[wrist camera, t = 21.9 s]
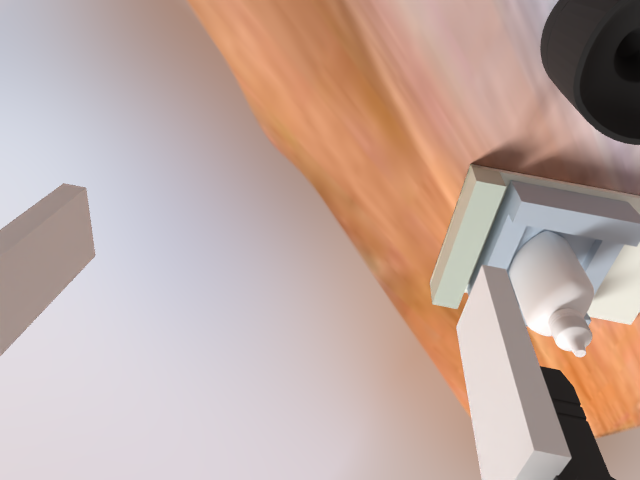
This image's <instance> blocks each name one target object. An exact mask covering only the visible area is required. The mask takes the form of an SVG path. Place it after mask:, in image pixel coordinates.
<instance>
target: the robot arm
mask: <svg viewBox="0 0 640 480" xmlns="http://www.w3.org/2000/svg"><path fill="white" fill-rule="evenodd" d="M94 257H95V250H94V243H93V235H92V227H91V220H90V213H89V205H88V199H87V191H86V188H85V187H80V186H75V185H69V184H64V183H63V184H62V185H61V186H59V187H58V188H57V189H55V190H54V191H53V192H52V193H50V194H48V196H46V197H44V198H43V199H42V200H40V201H39V202H38V203H36V204H35V205H33V206H32V207H31V208H29V209H28V210H27V211H25V212H24V213H23V214H21V215H20V216H18V217H17V218H16V219H14V220H13V221H12V222H10V223H9V224H8V225H6V226H5V227H4V228H2V229H1V230H0V356H1V355H2V354H3V353H4V352H5V351H6V350H7V349H8V348H9V346H10V345H11V344H12V343H13V342H14V341H15V340H16V339H17V338H18V337H19V336H20V335H21V334H22V333H23V332H24V331H25V330H26V328H27V327H28V326H29V325H30V324H31V323H32V322H33V321H34V320H35V319H36V318H37V317H38V316H39V315H40V314H41V313H42V311H43V310H45V308H46V307H47V306H48V305H49V304H50V303H51V302H52V301H53V300H54V299H55V298H56V297H57V296H58V295H59V294H60V293H61V291H62V290H63V289H64V288H65V287H66V286H67V285H68V284H69V283H70V282H71V281H72V280H73V279H74V278H75V277H76V276H77V274H78V273H80V271H81V270H82V269H83V268H84V267H85V266H86V265H87V264H88V263H89V262H90V261H91V260H92V259H93V258H94ZM456 328H457V334H458V340H459V346H460V352H461V358H462V364H463V370H464V376H465V382H466V388H467V394H468V400H469V406H470V412H471V418H472V424H473V430H474V436H475V441H476V448H477V453H478V460H479V465H480V472H481V477H482V480H616V479H614V478H612V477H611V476H610V474H609V472H608V470H607V467H606V465H605V463H604V460H603V457H602V455H601V453H600V451H599V448H598V445H597V443H596V440H595V438H594V435H593V433H592V431H591V428H590V426H589V423H588V422H587V421H586V416H585V413H584V411H583V409H582V407H580V401H579V399H578V396H577V394H576V391H575V389H574V387H573V385H572V384H571V383H570V382H569V381H568V379H567V378H566V377H565V376H564V375H563V373H562V372H561V371H560V370H556V369H551V368H546V367H541V366H539V363H538V360H537V357H536V354H535V351H534V348H533V346H532V343H531V340H530V337H529V334H528V331H527V328H526V325H525V323H524V320H523V317H522V314H521V311H520V308H519V305H518V303H517V300H516V297H515V294H514V291H513V288H512V285H511V282H510V280H509V277H508V274H507V271H506V269H503V268H498V267H492V266H487V265H482V266H481V268H480V271H479V273H478V276H477V278H476V281H475V283H474V285H473V288H472V290H471V293H470V295H469V298H468V300H467V303H466V305H465V307H464V310H463V312H462V315H461V317H460V320H459V322H458V324H457V327H456Z"/></svg>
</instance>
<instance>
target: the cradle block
mask: <svg viewBox="0 0 640 480" xmlns="http://www.w3.org/2000/svg"><path fill="white" fill-rule="evenodd" d="M544 231H550V232H553V233H555V234H557V235H559V236H561V237H563V238H565V239H566V240H567V242H568V243H569V245H570V247H571V249H572V250H573V252H574V254H575V255H576V257H577V259H578V261H579V262H580V264H581V266H582V267H583V269H584V271H585V273H586V274H587V276H588V278H589V280H590V282H591V284H592V285H593V288H594V295H595V293H596V291H597V290H598V288H599V286H600V285H601V283H602V281H603V280H604V278H605V276H606V275H607V273H608V271H609V270H610V268H611V266H612V265H613V263H614V261H615V260H616V258H617V256H618V255H619V253H620V251H621V249H622V248H623V246H624V245H630V246H635V247H637V246H638V244H639V242H640V214H639V213H638V212H637V211H636V210H635V209H634V208H633V207H632V206H631V205H630V203H629V202H625V201H620V200H615V199H609V198H604V197H599V196H593V195H588V194H583V193H578V192H572V191H567V190H562V189H556V188H551V187H546V186H540V185H535V184H530V183H524V182H519V181H514V180H511V181H510V184H509V186H508V189H507V191H506V193H505V196H504V198H503V201H502V203H501V206H500V208H499V211H498V213H497V216H496V218H495V221H494V223H493V226H492V228H491V231H490V233H489V236H488V238H487V241H486V243H485V246H484V248H483V251H482V253H481V256H480V258H479V260H478V263H477V265H476V268H475V270H474V273H473V275H472V278H471V280H470V283H469V285H468V288H467V291H468V295H470V293H471V290H472V288H473V285H474V283H475V281H476V278H477V276H478V273H479V271H480V268H481V266H482V265H487V266H492V267H498V268H503V269H506V271H507V274H508V277H509V269H510V265H511V263H512V261H513V259H514V257H515V255H516V254H517V252H518V251H519V250H520V248H521V247H522V246H523V245H524V244H525V243H527V242H528V241H529V240H530V239H532V238H533V237H535V236H536V235H538V234H540V233H542V232H544ZM509 280H510V277H509ZM510 282H511V280H510ZM511 285H512V283H511ZM512 288H513V285H512ZM513 291H514V288H513ZM514 294H515V291H514ZM515 297H516V294H515ZM593 297H594V296H593ZM516 300H517V297H516ZM517 303H518V305H519V302H518V300H517ZM519 308H520V305H519ZM520 311H521V308H520ZM521 314H522V317H523V320H524V323H525V325H526V326H528V325H527V324H526V321H525V319H524V316H523V313H522V311H521ZM584 319H585V321H586V323H587V325H589V324H590V322H591V319H590V317H589V315H588V313H586V315H585V316H584Z"/></svg>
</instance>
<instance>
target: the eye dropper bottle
mask: <svg viewBox="0 0 640 480" xmlns="http://www.w3.org/2000/svg"><path fill="white" fill-rule="evenodd" d="M509 277H510V280H511V283H512V285H513V288H514V291H515V294H516V297H517V300H518V302H519V305H520V308H521V311H522V313H523V316H524V319H525V321H526V324H527V325H528V327H529V328H530V329H531V330H533V331H535V332H537V333H539V334H541V335H544V336H553V338H554V340H555V343H556V345H557V346H558V347H559V348H561V349H563V350H566V351H572V352H573V353H574V354H575V356H577V357H583V356H585V355H586V349H585V347H586V346H588V345H589V344H590V342H591V340H592V333H591V331H590V329H589V327H588V325H587V323H586V321H585V319H584V316H585V315H586V313H587V312H588V310H589V308H590V305H591V303H592V300H593V296H594V288H593V285H592V284H591V282H590V280H589V278H588V276H587V274H586V273H585V271H584V269H583V267H582V266H581V264H580V262H579V261H578V259H577V257H576V255H575V254H574V252H573V250H572V249H571V247H570V245H569V243H568V242H567V240H566V239H565V238H563V237H561V236H559V235H557V234H555V233H553V232H550V231H544V232H542V233H540V234H538V235H536V236H535V237H533V238H532V239H530V240H529V241H528V242H527V243H525V244H524V245H523V246H522V247H521V248H520V250H519V251H518V252H517V254H516V255H515V257H514V259H513V261H512V263H511V265H510V269H509Z"/></svg>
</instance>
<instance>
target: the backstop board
mask: <svg viewBox="0 0 640 480" xmlns="http://www.w3.org/2000/svg"><path fill="white" fill-rule="evenodd" d="M511 180H514V181H519V182H524V183H530V184H535V185H540V186H546V187H551V188H556V189H562V190H567V191H572V192H578V193H583V194H588V195H593V196H599V197H604V198H609V199H615V200H620V201H625V202H629V203H630V205H631V206H632V207H633V208H634V209H635V210H636V211H637V212H638V213H639V214H640V196H639V195H634V194H628V193H623V192H618V191H612V190H607V189H602V188H596V187H591V186H586V185H580V184H575V183H570V182H564V181H559V180H554V179H548V178H543V177H538V176H532V175H527V174H522V173H516V172H511V171H506V170H500V169H495V168H490V167H485V166H479V165H474V164H470V167H469V170H468V173H467V176H466V178H465V181H464V184H463V187H462V190H461V193H460V196H459V199H458V202H457V205H456V207H455V210H454V213H453V216H452V219H451V222H450V225H449V228H448V231H447V234H446V236H445V239H444V242H443V245H442V248H441V251H440V254H439V257H438V260H437V263H436V265H435V268H434V271H433V274H432V277H431V280H430V288H431V297H432V304H434V305H439V306H445V307H450V308H455V309H458V306H459V304H460V301H461V299H462V296H463V294H464V292H466V293H468V291H467V288H468V285H469V283H470V280H471V278H472V275H473V273H474V270H475V268H476V265H477V263H478V260H479V258H480V256H481V253H482V251H483V248H484V246H485V243H486V241H487V238H488V236H489V233H490V231H491V228H492V226H493V223H494V221H495V218H496V216H497V213H498V211H499V208H500V206H501V203H502V201H503V198H504V196H505V193H506V191H507V189H508V186H509V184H510V181H511ZM639 312H640V242H639V244H638V246H637V247H635V246H630V245H624V246H623V248H622V249H621V251H620V253H619V255H618V256H617V258H616V260H615V261H614V263H613V265H612V266H611V268H610V270H609V271H608V273H607V275H606V276H605V278H604V280H603V281H602V283H601V285H600V286H599V288H598V290H597V291H596V293H595V295H594V297H593V300H592V303H591V305H590V308H589V310H588V312H587V313H588V315H589V317H594V318H599V319H604V320H609V321H614V322H619V323H624V324H629V325H631V324H632V322H633V321H634V319H635V318H636V316H637V315H638V313H639Z"/></svg>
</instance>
